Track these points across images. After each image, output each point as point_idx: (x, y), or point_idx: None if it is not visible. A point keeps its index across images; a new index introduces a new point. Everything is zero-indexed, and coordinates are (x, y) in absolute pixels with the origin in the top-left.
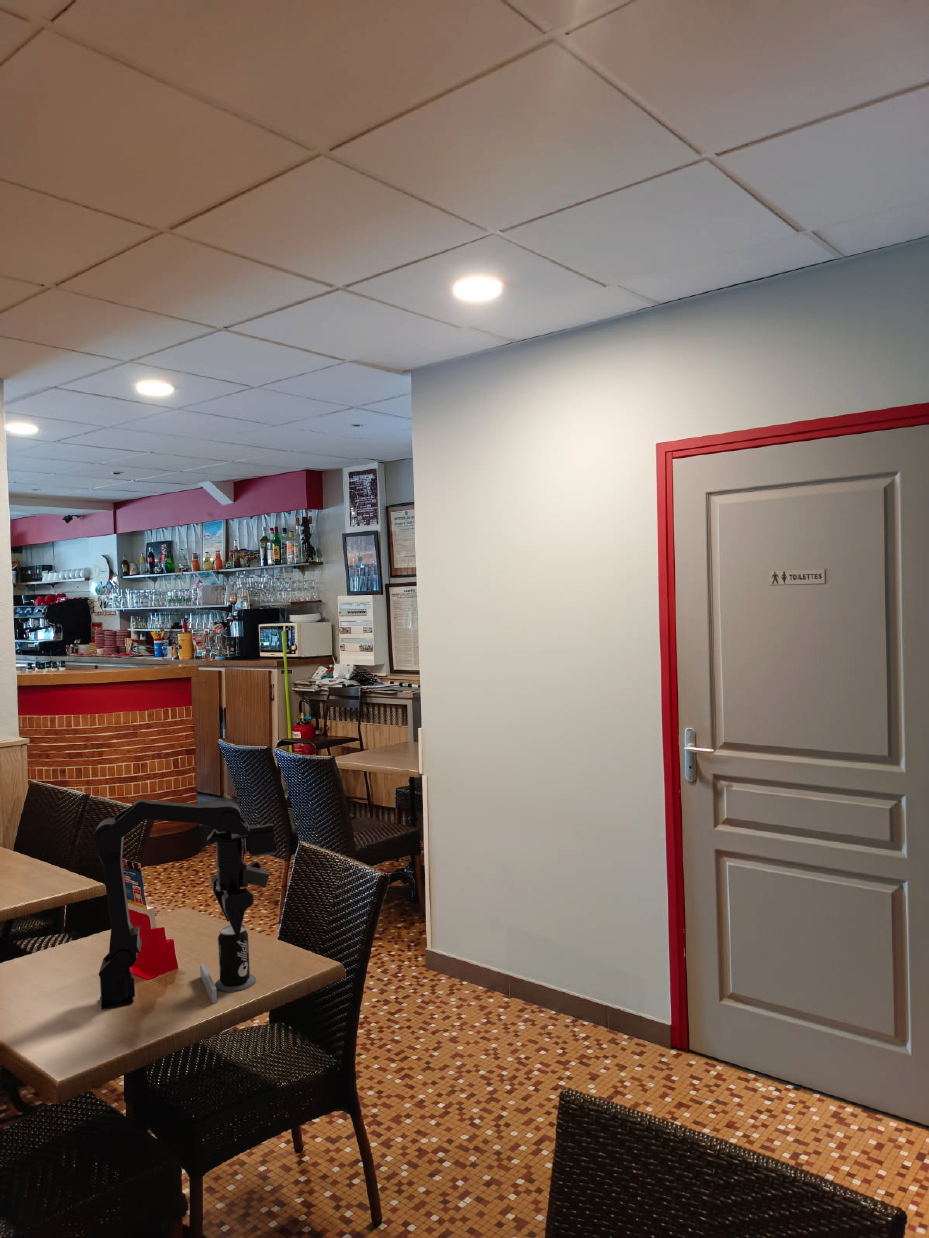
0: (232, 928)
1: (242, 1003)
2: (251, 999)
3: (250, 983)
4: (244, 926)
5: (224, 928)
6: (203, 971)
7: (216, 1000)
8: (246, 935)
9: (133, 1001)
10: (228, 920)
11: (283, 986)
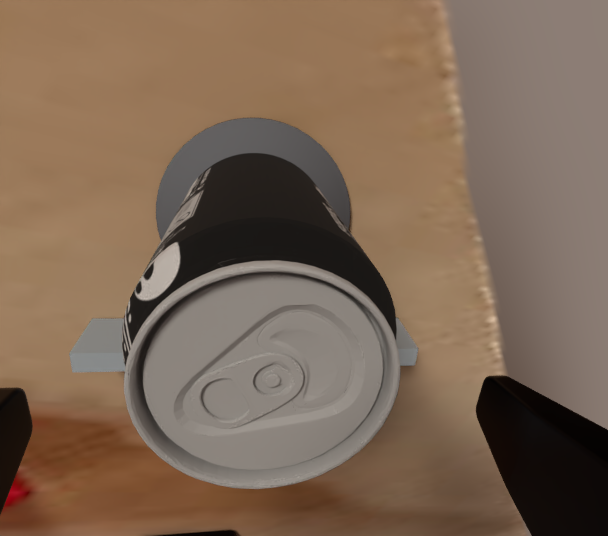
0: (511, 480)
1: (474, 238)
2: (465, 197)
3: (319, 162)
4: (253, 270)
5: (160, 437)
6: None
7: (400, 323)
8: (353, 250)
9: (229, 532)
10: (26, 427)
11: (438, 11)
